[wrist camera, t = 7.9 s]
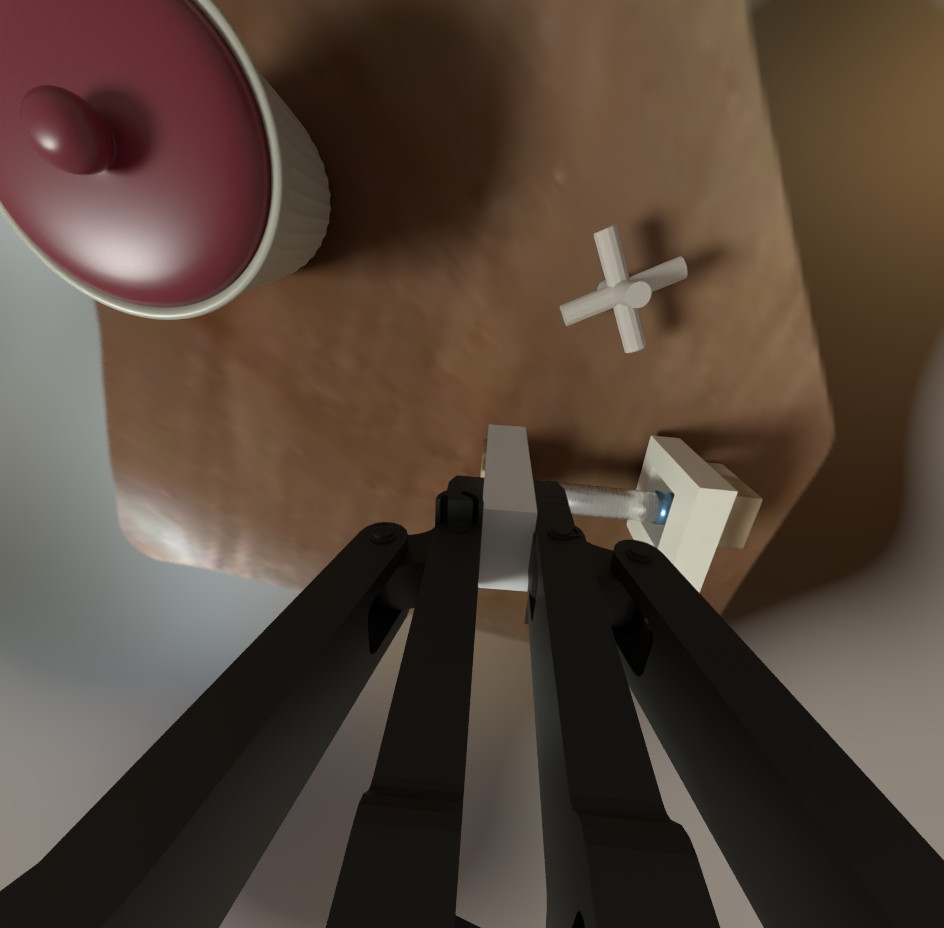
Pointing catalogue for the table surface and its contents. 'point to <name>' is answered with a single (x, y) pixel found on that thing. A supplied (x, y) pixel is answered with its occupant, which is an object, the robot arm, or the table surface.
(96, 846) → the robot arm
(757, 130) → the table surface
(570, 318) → the pipe connector
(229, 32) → the canister
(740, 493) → the rod support stand
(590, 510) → the steel rod
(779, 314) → the table surface
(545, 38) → the table surface
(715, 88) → the table surface
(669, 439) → the collar
